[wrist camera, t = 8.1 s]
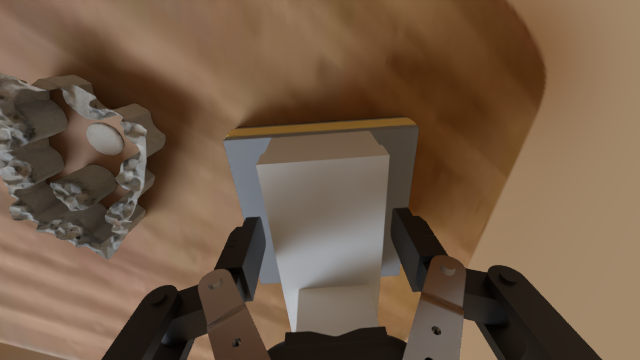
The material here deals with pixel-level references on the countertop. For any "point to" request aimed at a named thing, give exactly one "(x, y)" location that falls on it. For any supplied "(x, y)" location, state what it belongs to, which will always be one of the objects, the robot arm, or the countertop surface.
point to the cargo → (335, 309)
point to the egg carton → (43, 162)
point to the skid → (325, 211)
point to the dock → (254, 141)
